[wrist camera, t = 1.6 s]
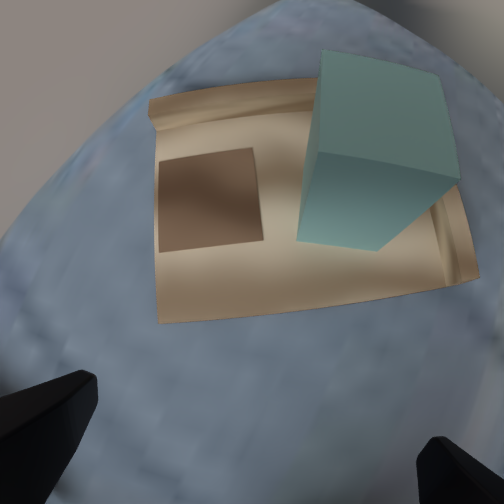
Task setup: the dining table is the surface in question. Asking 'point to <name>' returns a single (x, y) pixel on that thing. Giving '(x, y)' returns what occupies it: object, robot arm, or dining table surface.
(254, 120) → the tan tray
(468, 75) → the dining table surface
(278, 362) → the dining table surface
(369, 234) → the block
